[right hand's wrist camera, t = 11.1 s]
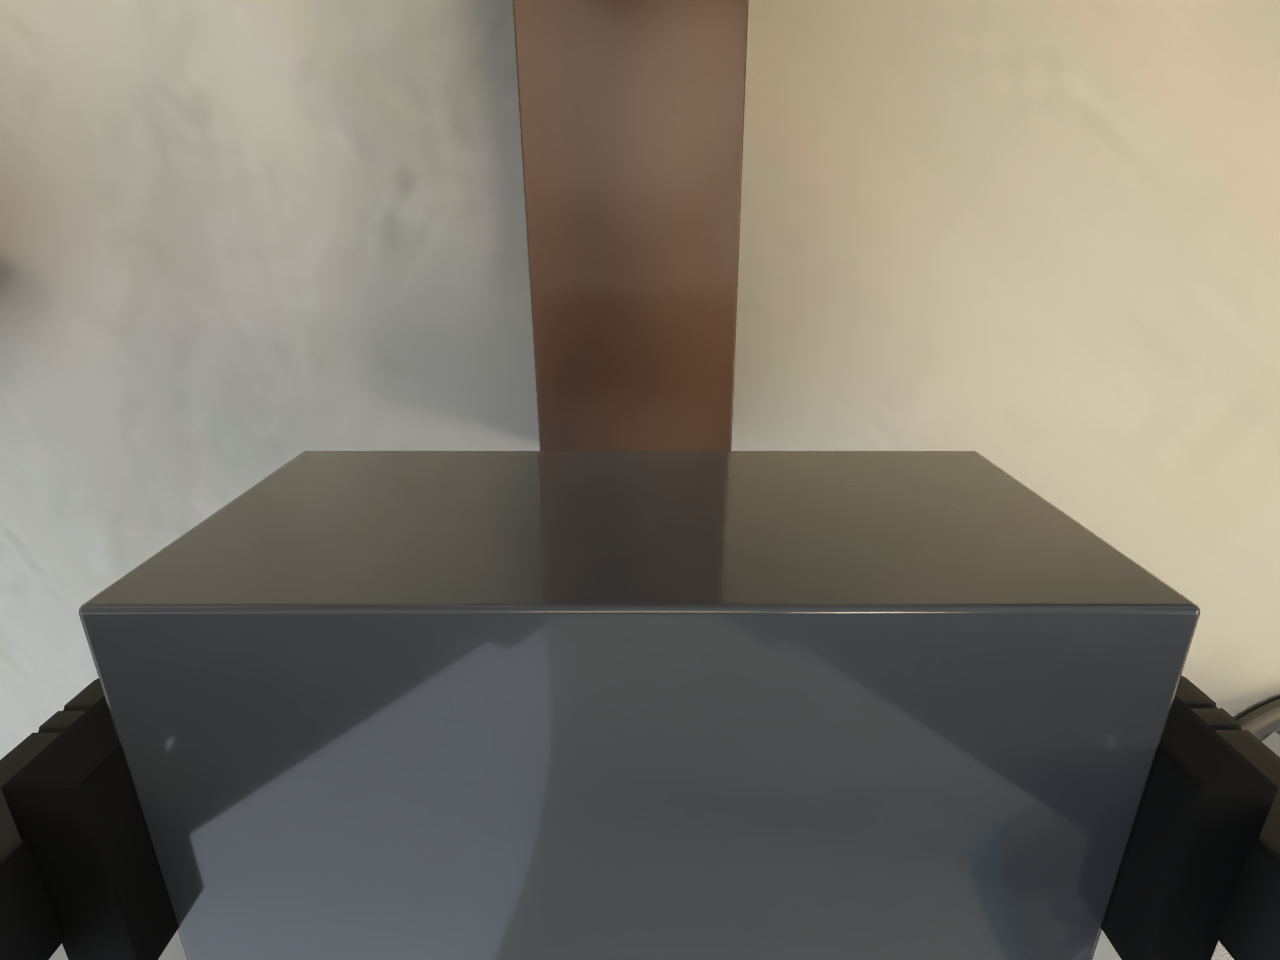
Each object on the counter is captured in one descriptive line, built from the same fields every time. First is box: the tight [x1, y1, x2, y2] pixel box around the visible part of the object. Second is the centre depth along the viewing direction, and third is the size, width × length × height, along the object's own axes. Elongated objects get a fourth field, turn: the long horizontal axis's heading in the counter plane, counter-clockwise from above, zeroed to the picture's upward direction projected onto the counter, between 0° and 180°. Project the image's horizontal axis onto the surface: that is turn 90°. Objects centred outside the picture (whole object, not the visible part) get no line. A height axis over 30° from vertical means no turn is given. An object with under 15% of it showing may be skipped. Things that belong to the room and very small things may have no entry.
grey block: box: [79, 451, 1200, 960], centre depth 10 cm, size 11×6×5 cm, turn 90°
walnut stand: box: [513, 0, 748, 451], centre depth 26 cm, size 7×32×9 cm, turn 0°
